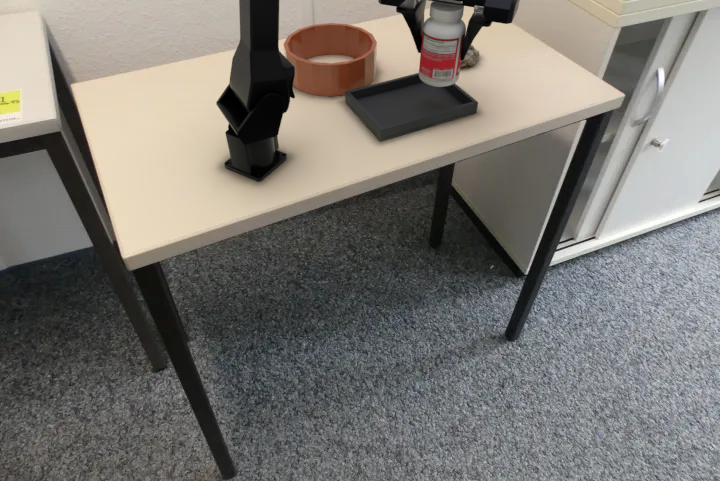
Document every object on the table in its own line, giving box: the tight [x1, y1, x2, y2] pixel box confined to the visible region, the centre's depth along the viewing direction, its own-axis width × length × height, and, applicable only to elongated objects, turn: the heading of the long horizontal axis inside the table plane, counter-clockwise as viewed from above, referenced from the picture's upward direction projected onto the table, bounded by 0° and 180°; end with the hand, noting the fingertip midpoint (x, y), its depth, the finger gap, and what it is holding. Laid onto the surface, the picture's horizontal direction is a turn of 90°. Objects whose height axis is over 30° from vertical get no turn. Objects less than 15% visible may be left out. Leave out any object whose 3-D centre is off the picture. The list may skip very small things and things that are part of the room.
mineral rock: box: [461, 44, 481, 67], centre depth 96 cm, size 11×4×8 cm
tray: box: [344, 72, 479, 142], centre depth 84 cm, size 17×12×2 cm
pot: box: [283, 22, 378, 97], centre depth 90 cm, size 15×15×6 cm
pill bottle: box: [418, 1, 467, 87], centre depth 77 cm, size 6×6×11 cm
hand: (441, 55), depth 79 cm, fingers closed on pill bottle, 6 cm apart
